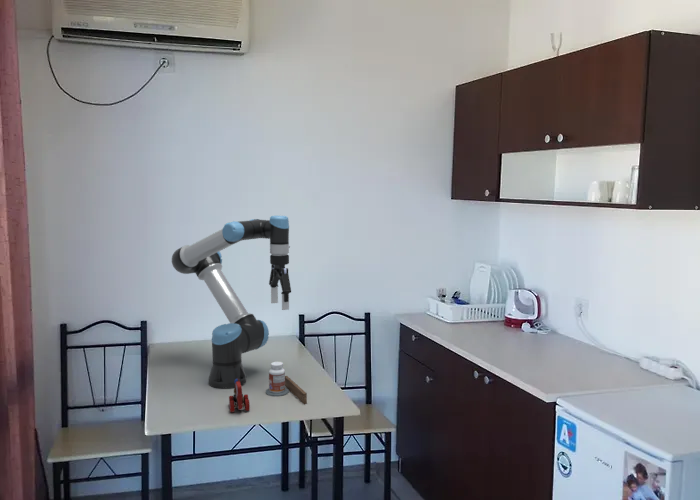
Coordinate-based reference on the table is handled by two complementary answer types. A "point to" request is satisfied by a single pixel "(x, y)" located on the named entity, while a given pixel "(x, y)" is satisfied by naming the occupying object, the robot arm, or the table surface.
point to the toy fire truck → (238, 398)
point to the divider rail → (296, 390)
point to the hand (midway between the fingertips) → (279, 306)
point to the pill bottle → (276, 378)
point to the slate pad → (277, 393)
